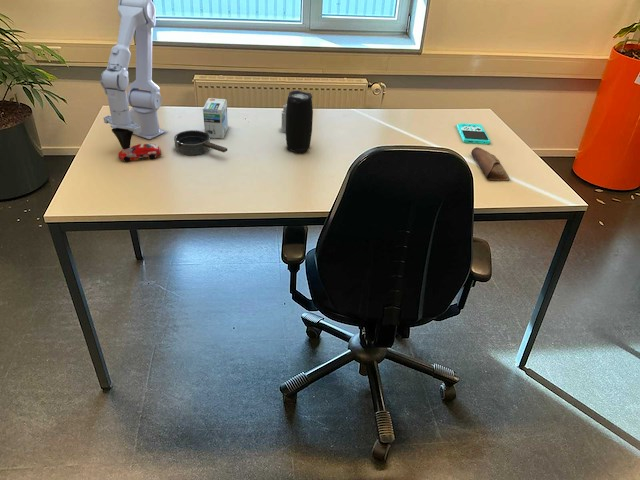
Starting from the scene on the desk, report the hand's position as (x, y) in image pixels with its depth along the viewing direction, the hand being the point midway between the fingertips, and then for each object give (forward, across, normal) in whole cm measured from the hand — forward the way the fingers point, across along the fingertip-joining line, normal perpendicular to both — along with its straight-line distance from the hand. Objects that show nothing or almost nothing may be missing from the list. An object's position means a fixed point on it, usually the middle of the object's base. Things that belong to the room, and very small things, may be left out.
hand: (126, 148), depth 172 cm
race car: (+2, +6, 0) cm, 6 cm away
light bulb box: (+2, +13, +30) cm, 33 cm away
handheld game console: (+2, +91, +87) cm, 126 cm away
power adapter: (+2, +33, +47) cm, 57 cm away
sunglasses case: (+2, +104, +63) cm, 122 cm away
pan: (+1, +15, +15) cm, 21 cm away
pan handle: (-2, +25, +15) cm, 29 cm away
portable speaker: (+2, +44, +36) cm, 57 cm away
